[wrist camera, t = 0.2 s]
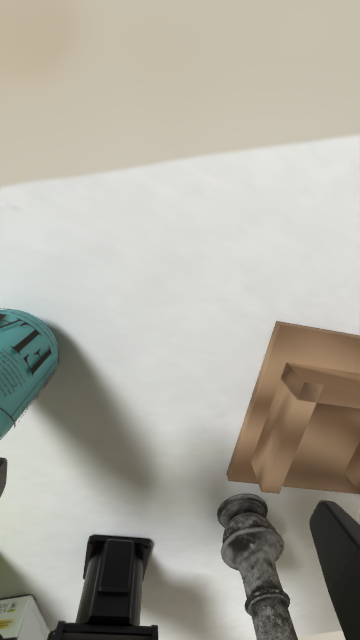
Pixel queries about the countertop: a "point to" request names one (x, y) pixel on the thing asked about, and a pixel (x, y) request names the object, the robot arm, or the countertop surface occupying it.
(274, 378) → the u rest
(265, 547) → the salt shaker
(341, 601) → the robot arm
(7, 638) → the tea box
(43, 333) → the beverage bottle
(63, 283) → the countertop surface
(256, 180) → the countertop surface
